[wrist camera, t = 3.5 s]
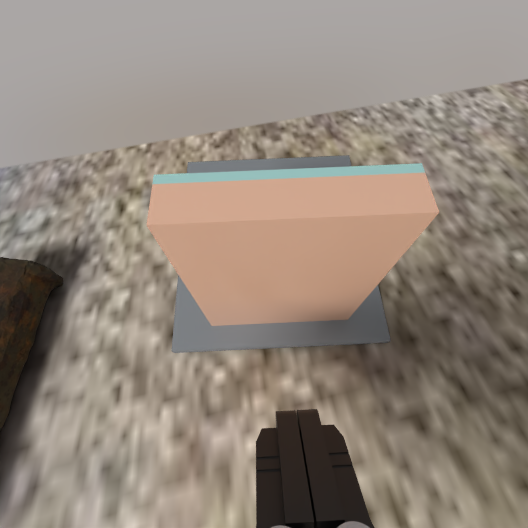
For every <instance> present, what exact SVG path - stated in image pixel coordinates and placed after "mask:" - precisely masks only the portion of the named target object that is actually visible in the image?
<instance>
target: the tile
mask: <svg viewBox="0 0 528 528" xmlns="http://www.w3.org/2000/svg"><path fill="white" fill-rule="evenodd" d="M438 213H439V210H438V207H437V205H436V202H435V199H434V196H433V193H432V191H431V188H430V185H429V182H428V180H427V177H426V174H425V171H424V168H423V166H422V163H420V164H397V165H374V166H350V167H327V168H303V169H280V170H256V171H233V172H209V173H186V174H162V175H154V178H153V185H152V192H151V198H150V205H149V212H148V219H147V227H148V228H149V230H150V231H151V233H152V234H153V236H154V238H155V239H156V241H157V242H158V244H159V245H160V247H161V248H162V250H163V251H164V253H165V255H166V256H167V258H168V259H169V261H170V262H171V264H172V265H173V267H174V268H175V270H176V272H177V273H178V275H179V276H180V278H181V279H182V281H183V282H184V284H185V285H186V287H187V289H188V290H189V292H190V293H191V295H192V296H193V298H194V299H195V301H196V303H197V304H198V306H199V307H200V309H201V310H202V312H203V313H204V315H205V316H206V318H207V320H208V321H209V323H210V324H211V326H223V325H244V324H265V323H287V322H308V321H329V320H348V319H349V318H350V317H351V315H352V314H353V313H354V312H355V311H356V310H357V308H358V307H359V306H360V305H361V304H362V302H363V301H364V300H365V299H366V298H367V297H368V295H369V294H370V293H371V292H372V291H373V290H374V288H375V287H376V286H377V285H378V284H379V283H380V281H381V280H382V279H383V278H384V277H385V275H386V274H387V273H388V272H389V271H390V270H391V268H392V267H393V266H394V265H395V264H396V263H397V261H398V260H399V259H400V258H401V257H402V256H403V254H404V253H405V252H406V251H407V250H408V248H409V247H410V246H411V245H412V244H413V243H414V241H415V240H416V239H417V238H418V237H419V236H420V234H421V233H422V232H423V231H424V230H425V229H426V227H427V226H428V225H429V224H430V223H431V221H432V220H433V219H434V218H435V217H436V216H437V214H438Z"/></svg>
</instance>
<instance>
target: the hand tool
mask: <svg viewBox="0 0 528 528" xmlns="http://www.w3.org/2000/svg"><path fill="white" fill-rule="evenodd" d="M62 284H63V278H62V277H61V276H59V275H57V274H56V273H55V272H53V271H52V270H51V269H49V268H47V267H45V266H43V265H41V264H38V263H36V262H33V261H28V260H19V259H9V258H4V257H0V431H1V429H2V427H3V425H4V423H5V420H6V418H7V417H8V413H9V410H10V405H11V401H12V397H13V394H14V391H15V388H16V385H17V383H18V380H19V377H20V375H21V372H22V369H23V366H24V364H25V363H26V361H27V359H28V356H29V352H30V349H31V347H32V345H33V343H34V341H35V334H36V329H37V327H38V325H39V323H40V320H41V316H42V312H43V310H44V307H45V304H46V301H47V299H48V296H49V294H50V292H51V290H52V289H54V288H56V287H59V286H61V285H62Z"/></svg>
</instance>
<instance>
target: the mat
mask: <svg viewBox="0 0 528 528" xmlns="http://www.w3.org/2000/svg"><path fill="white" fill-rule="evenodd" d="M350 166H351V162H350V158H349V156H325V157H301V158H278V159H254V160H230V161H207V162H188V168H187V173H209V172H233V171H256V170H280V169H303V168H327V167H350ZM389 341H391V340H390V335H389V331H388V327H387V322H386V318H385V313H384V309H383V304H382V300H381V295H380V291H379V287H378V285H377V286H376V287H375V288H374V290H373V291H372V292H371V293H370V294H369V295H368V297H367V298H366V299H365V300H364V301H363V302H362V304H361V305H360V306H359V307H358V308H357V310H356V311H355V312H354V313H353V314H352V315H351V317H350V318H349V319H348V320H329V321H308V322H287V323H265V324H244V325H223V326H211V324H210V323H209V321H208V320H207V318H206V316H205V315H204V313H203V312H202V310H201V309H200V307H199V306H198V304H197V303H196V301H195V299H194V298H193V296H192V295H191V293H190V292H189V290H188V289H187V287H186V285H185V284H184V282H183V281H182V279H181V278H180V276H179V275H178V284H177V295H176V307H175V318H174V330H173V341H172V352H174V353H180V352H201V351H222V350H243V349H264V348H285V347H306V346H327V345H348V344H369V343H388V342H389Z"/></svg>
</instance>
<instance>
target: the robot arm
mask: <svg viewBox="0 0 528 528" xmlns="http://www.w3.org/2000/svg"><path fill="white" fill-rule="evenodd" d="M256 506H257V525H256V528H374V526H373V524H372V522H371V520H370V517H369V515H368V511H367V508H366V505H365V502H364V499H363V496H362V493H361V490H360V487H359V483H358V480H357V477H356V474H355V471H354V468H353V466H352V462H351V459H350V455H349V454H348V449H347V446H346V443H345V440H344V437H343V436H342V434H341V433H340V432H339V431H338V430H337V428H336V427H335V426H334V425H321V422H320V418H319V414H318V411H317V409H311V410H297V415H296V411H295V410H294V411H276V428H264V429H262V430H261V432H260V434H259V437H258V439H257V441H256Z"/></svg>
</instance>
